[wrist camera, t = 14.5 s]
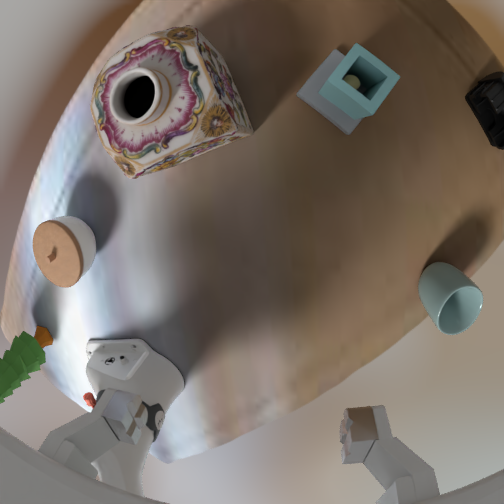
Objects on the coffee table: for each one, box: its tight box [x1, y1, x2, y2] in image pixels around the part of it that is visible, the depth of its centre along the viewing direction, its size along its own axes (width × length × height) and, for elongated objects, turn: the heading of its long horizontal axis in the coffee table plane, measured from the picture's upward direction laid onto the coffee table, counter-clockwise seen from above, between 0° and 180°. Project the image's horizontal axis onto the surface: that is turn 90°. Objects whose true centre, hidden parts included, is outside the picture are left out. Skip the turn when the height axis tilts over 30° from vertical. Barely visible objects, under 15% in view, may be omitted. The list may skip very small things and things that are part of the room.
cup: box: [418, 262, 483, 335], centre depth 35 cm, size 8×8×10 cm
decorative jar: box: [90, 25, 254, 179], centre depth 26 cm, size 12×12×18 cm
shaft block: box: [296, 49, 367, 135], centre depth 29 cm, size 8×8×7 cm
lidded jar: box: [33, 216, 96, 287], centre depth 39 cm, size 11×11×9 cm
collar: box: [318, 43, 400, 120], centre depth 26 cm, size 5×5×8 cm
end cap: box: [465, 72, 504, 150], centre depth 25 cm, size 10×7×7 cm
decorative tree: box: [0, 326, 53, 403], centre depth 41 cm, size 10×9×30 cm
